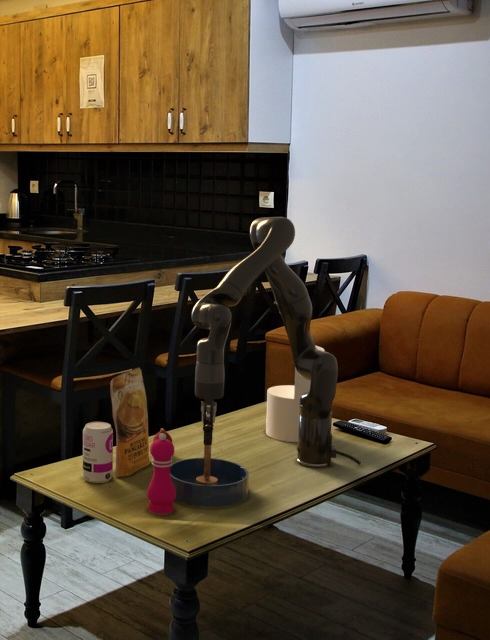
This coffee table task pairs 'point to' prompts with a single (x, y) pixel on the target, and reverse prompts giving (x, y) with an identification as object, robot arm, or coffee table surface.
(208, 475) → the wooden disc peg
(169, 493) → the pepper mill
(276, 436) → the cylinder
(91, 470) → the supplement can
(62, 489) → the coffee table surface
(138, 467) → the pancake mix bag
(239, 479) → the bowl
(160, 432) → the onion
